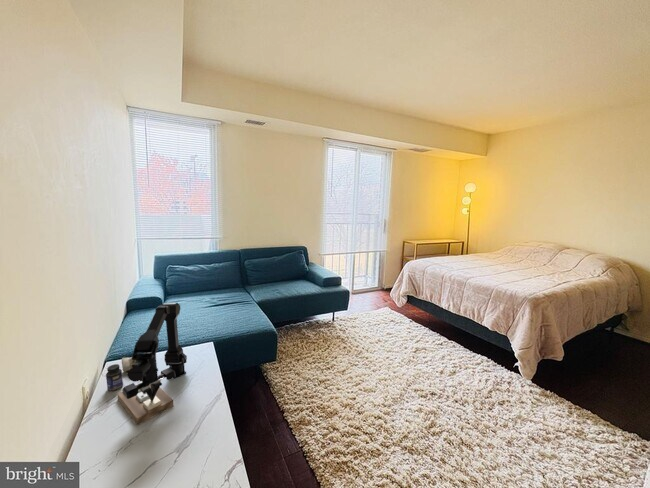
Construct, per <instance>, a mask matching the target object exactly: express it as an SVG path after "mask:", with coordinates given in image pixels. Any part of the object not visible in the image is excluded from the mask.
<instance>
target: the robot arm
mask: <svg viewBox="0 0 650 488" xmlns="http://www.w3.org/2000/svg"><path fill="white" fill-rule="evenodd" d="M180 311H181V305H180V303H178V302H164V303H163V304H161V305H158V306H157V307H155V311H154V315H153V317H152V318H151V321H150V323H149V325H148V326H147V329H146V331H145V332H144V333H142V334H141V335H140V336H139V337H138V339H137V341H136V342H135V344H134V348H133V352H132V356H131V357H132V360H136V362H135V363H134V364H133V365H132V368H131V369H130V370H128V371H127V374H126V377H127V378H128V380H129V381H131V382H132V383H131V384H128V385H126V386H123V388H122V390H121V392H123V395H124V396H125V397H126V398H127V399H130V398H132V397H134V396H136V395H137V394H138V393H139V392H138V390H139V389H140V390H141V391H142V392H143V393H147V395H148V397H149V399H150V400H151V401H153V400H154V397H155V395H156V393H157V391H158V389H159V387H160V388H161V386H163V383H162V382H161V381H162V380H163V379H166V381H171V380H173V379H176V378H179V377H181V376H184V375H185V374H187V371H186V370H185V364H186V363H187V362H188V361H187V359H188V356H187V355H186V354H185V353H184V349H183V348H182V346H180V344H179V343H180V342H179V332H178V331H179V330H178V320H177V319H178V317H179V315H180ZM164 322H165V326H166V337H167V349H166V351H165V353H164V362H165V366H166V367H167V368H165V369H162V370H161V371H160V374H159V375H158V371H159V368H158V365H157V364H158V363H157V352H158V348H159V345H160V339H159V334H160V331H161V329H162V327H163V325H164ZM139 381H140V382H142V383H140V382H139ZM134 382H139V383H140V384H138V383H137V384H138V385H136V384H135V383H134ZM149 385H150V386H151V388H150V387H149Z"/></svg>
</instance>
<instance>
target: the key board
mask: <svg viewBox="0 0 650 488" xmlns="http://www.w3.org/2000/svg"><path fill="white" fill-rule="evenodd" d="M149 387H150V388H151V386H150V385H149ZM141 392H142V391H141ZM139 393H140V392H139ZM155 396H156V397H157V398H158V399H159V400H160V401H161V405H159V406H157V407H155V408H153V409H151V410H149V411H147V410H146V409H145V408H144V406H143V402H144V401H143V402H141V403H140V402H139V401H138V400H137V397H136V396H134V397H132V398H130V399H127V398H126V397H125V396H124V395H123V392H122V391H121V392H118V393H117V400H118V401H119V402H120V404H121V406H123V408H124V409H125V410H126V412H127V413H128V414H129V416H130V417H131V418H132V420H133V421H134V422H135V423H136V425H138V426H139V425H141V424H143V423H144V422H146V421H149V420H150V419H152V418H153V417H155V416H157V415H159V414H161V413H163V412H165V411H167V410H169V409H170V408H172V407H174V406H175V404H174V399H173V398H172V397H171V396H170V395H169V394H168V393H167V392H166V391H165V390H164V389H162V388H161V386H160V387H159V389H158V391H157V393H156V395H155ZM147 400H148V399H147ZM145 401H146V400H145Z"/></svg>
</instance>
